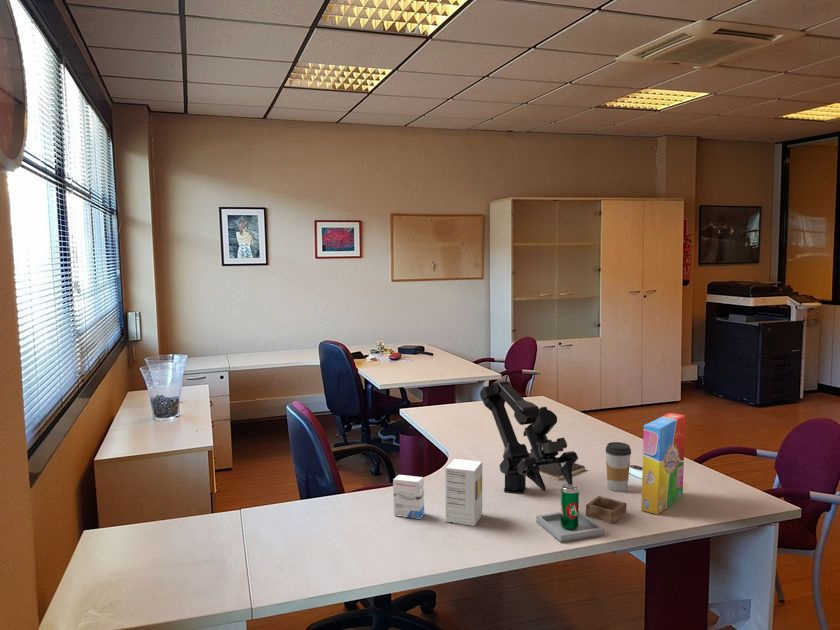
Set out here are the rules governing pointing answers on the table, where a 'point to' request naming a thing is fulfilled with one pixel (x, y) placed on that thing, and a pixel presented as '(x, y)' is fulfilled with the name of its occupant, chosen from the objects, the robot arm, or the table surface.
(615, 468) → the coffee cup
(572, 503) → the soda can
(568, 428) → the table surface
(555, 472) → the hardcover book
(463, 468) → the supplement box
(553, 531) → the grey tray
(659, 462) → the game box
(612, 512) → the walnut cup-holder
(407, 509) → the ink box
